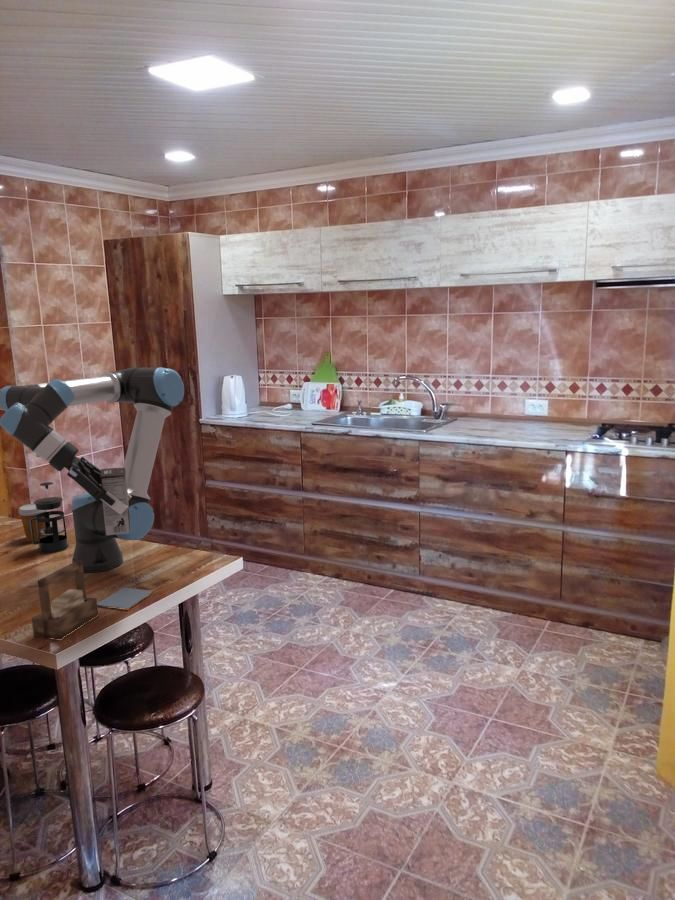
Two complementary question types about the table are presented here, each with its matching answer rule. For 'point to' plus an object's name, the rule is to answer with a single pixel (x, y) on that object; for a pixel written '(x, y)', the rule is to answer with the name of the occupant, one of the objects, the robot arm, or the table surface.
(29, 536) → the disposable coffee cup
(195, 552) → the table surface
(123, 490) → the coffee box
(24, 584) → the table surface
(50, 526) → the french press
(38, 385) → the robot arm
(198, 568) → the table surface
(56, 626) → the offcut rack
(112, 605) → the slate mat
